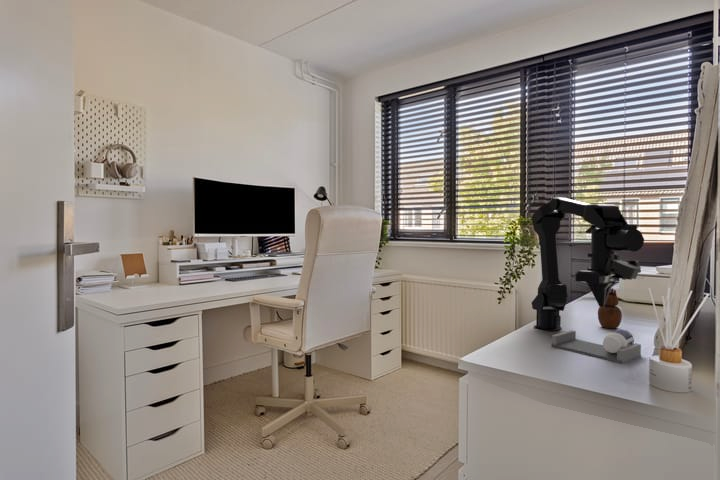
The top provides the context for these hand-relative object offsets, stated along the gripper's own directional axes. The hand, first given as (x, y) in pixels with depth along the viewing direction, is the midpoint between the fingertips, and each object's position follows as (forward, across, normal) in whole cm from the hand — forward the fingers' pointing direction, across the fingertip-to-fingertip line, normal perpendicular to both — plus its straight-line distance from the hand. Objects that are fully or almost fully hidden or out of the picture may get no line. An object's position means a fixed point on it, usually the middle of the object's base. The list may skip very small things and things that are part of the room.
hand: (601, 306), depth 111 cm
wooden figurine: (+12, +29, +10) cm, 33 cm away
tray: (+12, -4, 0) cm, 12 cm away
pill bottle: (+8, +4, -4) cm, 10 cm away
